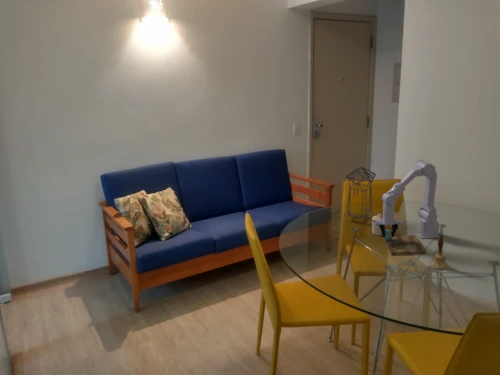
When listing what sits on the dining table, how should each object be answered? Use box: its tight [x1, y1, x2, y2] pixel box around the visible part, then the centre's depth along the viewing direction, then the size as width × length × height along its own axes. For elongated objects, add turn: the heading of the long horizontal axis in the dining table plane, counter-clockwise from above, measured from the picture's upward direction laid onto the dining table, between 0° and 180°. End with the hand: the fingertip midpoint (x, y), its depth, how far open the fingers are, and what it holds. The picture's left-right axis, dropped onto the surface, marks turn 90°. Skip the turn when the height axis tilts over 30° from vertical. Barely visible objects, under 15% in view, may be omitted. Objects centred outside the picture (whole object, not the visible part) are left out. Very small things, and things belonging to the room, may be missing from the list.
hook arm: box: [391, 238, 401, 247], centre depth 232 cm, size 5×1×6 cm, turn 86°
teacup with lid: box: [371, 213, 388, 236], centre depth 253 cm, size 12×9×12 cm
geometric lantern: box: [345, 166, 377, 220], centre depth 269 cm, size 16×16×35 cm
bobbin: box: [384, 229, 392, 241], centre depth 240 cm, size 4×4×5 cm
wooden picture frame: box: [382, 234, 427, 256], centre depth 235 cm, size 18×20×2 cm
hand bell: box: [429, 235, 449, 270], centre depth 210 cm, size 8×8×16 cm
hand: (388, 236), depth 240 cm, fingers open, 4 cm apart
